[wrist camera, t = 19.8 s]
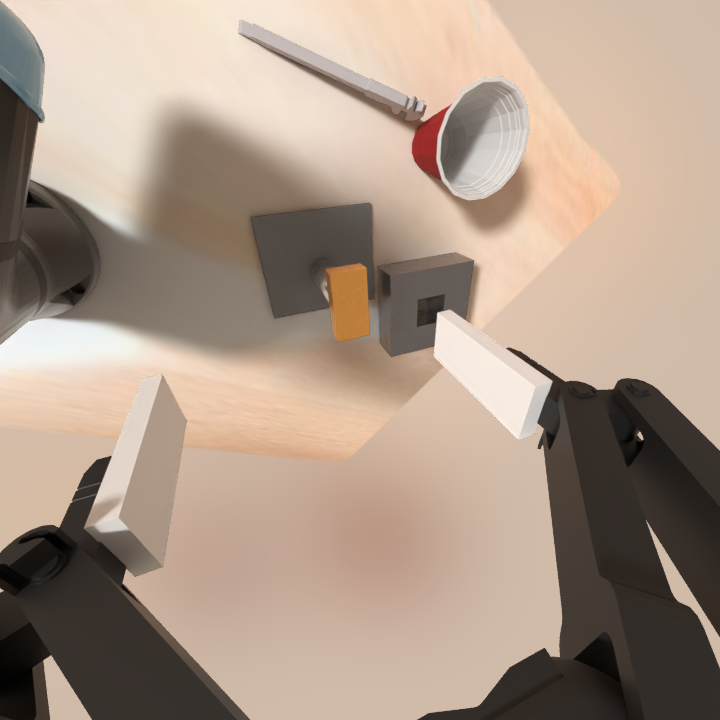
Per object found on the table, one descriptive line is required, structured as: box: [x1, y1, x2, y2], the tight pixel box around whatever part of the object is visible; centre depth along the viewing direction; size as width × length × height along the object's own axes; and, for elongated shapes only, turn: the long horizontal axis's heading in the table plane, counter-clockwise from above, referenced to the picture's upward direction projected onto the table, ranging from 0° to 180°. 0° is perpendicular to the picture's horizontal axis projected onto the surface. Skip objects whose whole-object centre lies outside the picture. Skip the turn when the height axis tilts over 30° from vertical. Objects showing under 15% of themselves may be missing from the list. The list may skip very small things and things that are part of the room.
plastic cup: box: [412, 76, 530, 201], centre depth 38 cm, size 11×11×12 cm
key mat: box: [251, 203, 374, 318], centre depth 45 cm, size 16×14×1 cm
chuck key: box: [310, 258, 370, 342], centre depth 40 cm, size 8×4×14 cm, turn 4°
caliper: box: [238, 20, 427, 121], centre depth 33 cm, size 20×1×6 cm, turn 72°
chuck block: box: [377, 253, 474, 357], centre depth 53 cm, size 14×14×5 cm
